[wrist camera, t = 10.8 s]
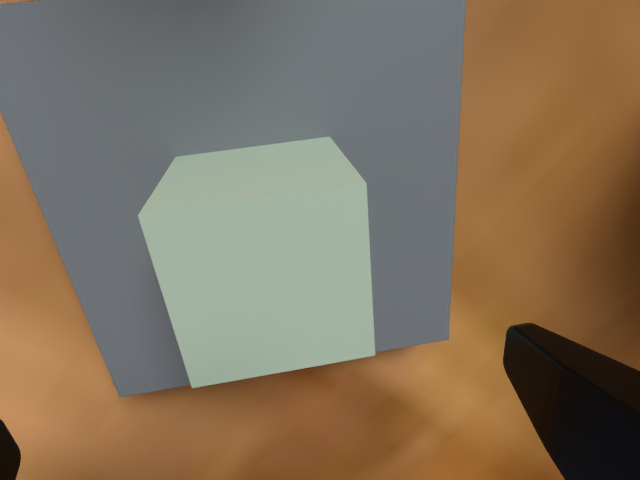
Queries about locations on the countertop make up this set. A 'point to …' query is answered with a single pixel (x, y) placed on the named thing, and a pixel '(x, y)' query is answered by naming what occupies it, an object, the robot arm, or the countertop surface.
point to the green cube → (263, 259)
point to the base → (233, 139)
